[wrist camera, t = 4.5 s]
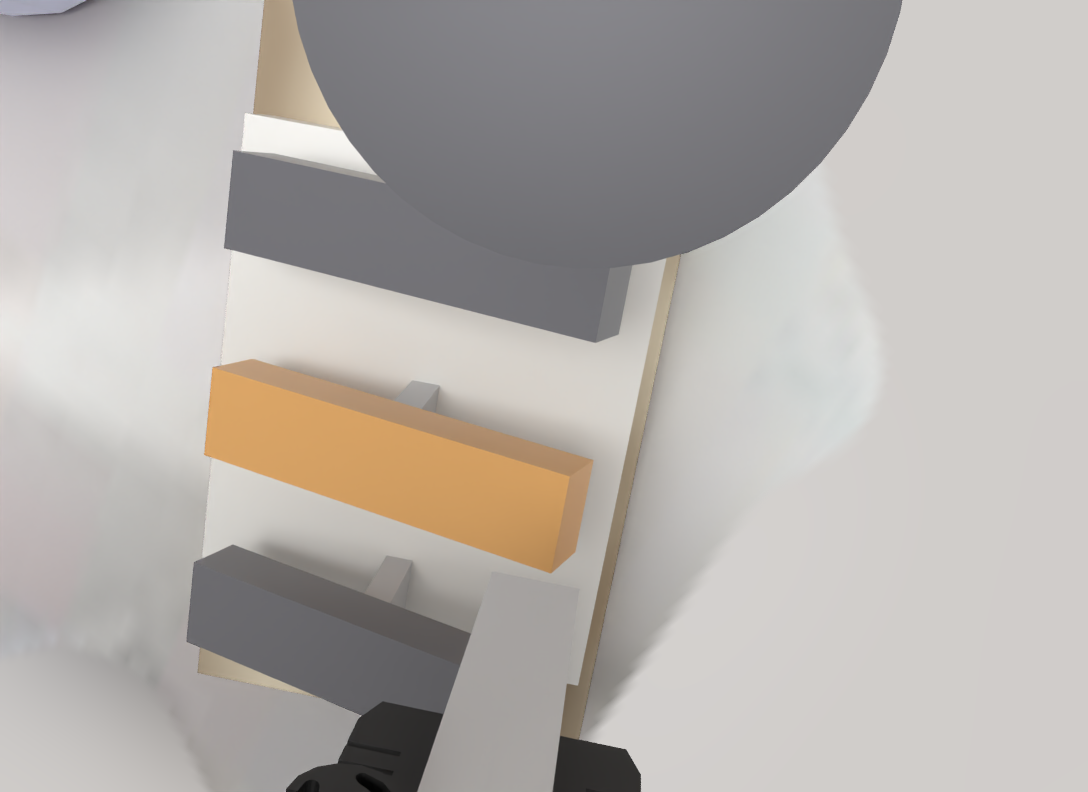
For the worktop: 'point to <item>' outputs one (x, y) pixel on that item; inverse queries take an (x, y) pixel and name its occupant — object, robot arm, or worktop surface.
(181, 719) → the worktop surface
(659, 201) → the posts
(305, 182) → the front paddle
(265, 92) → the board
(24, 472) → the worktop surface
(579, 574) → the block
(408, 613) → the bar
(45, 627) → the worktop surface
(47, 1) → the soap bottle
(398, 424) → the middle paddle
